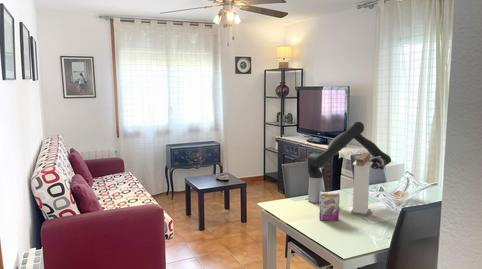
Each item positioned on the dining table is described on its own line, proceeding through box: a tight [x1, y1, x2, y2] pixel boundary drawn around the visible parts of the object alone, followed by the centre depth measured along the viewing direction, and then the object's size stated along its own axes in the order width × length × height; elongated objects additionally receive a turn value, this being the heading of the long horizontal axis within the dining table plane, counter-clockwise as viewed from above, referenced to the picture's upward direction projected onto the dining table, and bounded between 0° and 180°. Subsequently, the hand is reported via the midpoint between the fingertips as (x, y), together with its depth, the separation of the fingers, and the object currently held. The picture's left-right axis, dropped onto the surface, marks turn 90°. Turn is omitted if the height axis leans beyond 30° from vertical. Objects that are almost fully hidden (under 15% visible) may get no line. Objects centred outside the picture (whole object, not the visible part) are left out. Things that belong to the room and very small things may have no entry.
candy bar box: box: [318, 191, 341, 222], centre depth 216 cm, size 11×5×16 cm, turn 84°
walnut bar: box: [355, 151, 371, 166], centre depth 225 cm, size 24×4×4 cm, turn 151°
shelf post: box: [350, 160, 373, 217], centre depth 226 cm, size 10×10×32 cm
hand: (369, 165), depth 239 cm, fingers open, 8 cm apart
